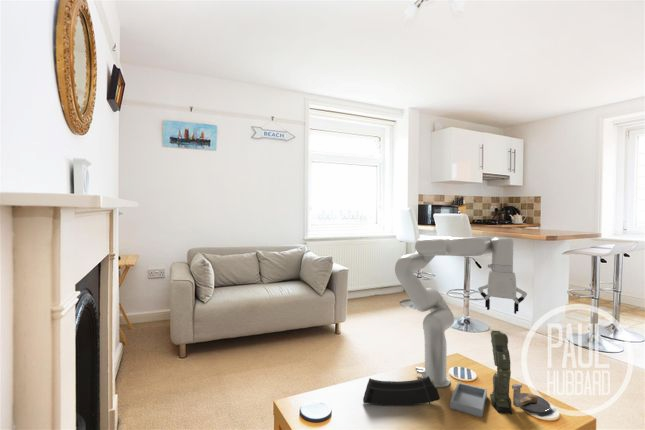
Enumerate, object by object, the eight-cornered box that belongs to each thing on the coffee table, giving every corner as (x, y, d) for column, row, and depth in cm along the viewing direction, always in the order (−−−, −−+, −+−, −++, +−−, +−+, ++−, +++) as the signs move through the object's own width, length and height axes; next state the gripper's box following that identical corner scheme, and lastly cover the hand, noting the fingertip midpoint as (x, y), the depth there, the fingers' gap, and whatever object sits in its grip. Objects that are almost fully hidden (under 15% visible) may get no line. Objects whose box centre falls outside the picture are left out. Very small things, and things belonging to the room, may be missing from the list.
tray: (450, 408, 138) (450, 400, 138) (457, 389, 152) (457, 382, 152) (482, 417, 132) (482, 409, 132) (487, 396, 146) (487, 389, 146)
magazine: (357, 384, 140) (429, 362, 139) (356, 380, 143) (426, 359, 143) (370, 424, 140) (441, 402, 140) (369, 419, 144) (439, 398, 143)
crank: (530, 396, 142) (531, 376, 142) (539, 401, 139) (539, 381, 139) (509, 404, 137) (509, 383, 137) (517, 409, 134) (517, 388, 134)
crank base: (514, 408, 138) (514, 404, 138) (515, 393, 148) (515, 390, 148) (550, 417, 132) (550, 413, 132) (549, 401, 142) (549, 397, 142)
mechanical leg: (518, 417, 130) (512, 333, 136) (497, 415, 132) (493, 332, 138) (507, 406, 144) (502, 330, 150) (488, 404, 145) (484, 328, 151)
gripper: (477, 268, 140) (476, 310, 141) (527, 272, 131) (526, 317, 132) (479, 265, 146) (479, 305, 147) (527, 269, 138) (526, 311, 138)
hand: (501, 311), depth 139 cm, fingers open, 9 cm apart
